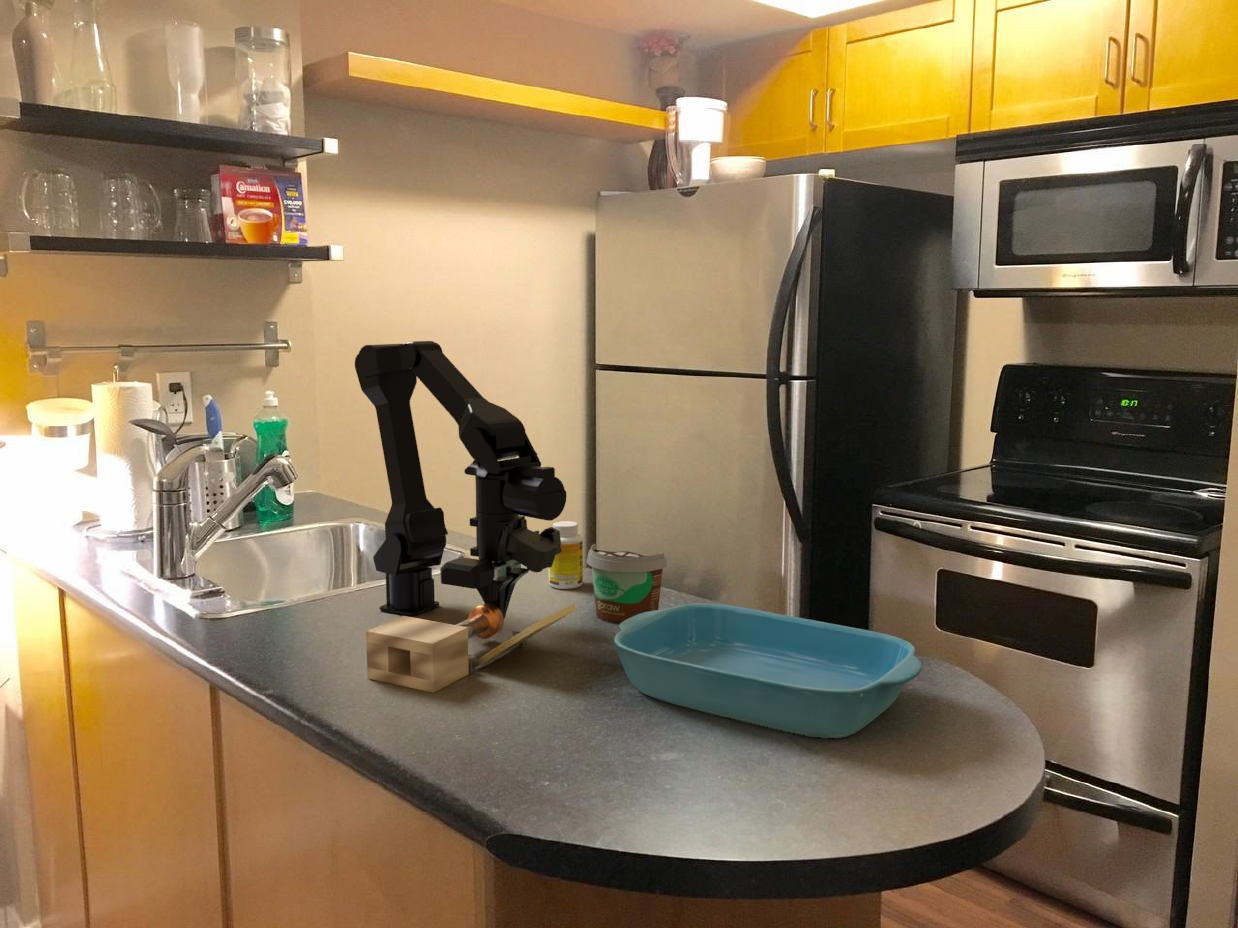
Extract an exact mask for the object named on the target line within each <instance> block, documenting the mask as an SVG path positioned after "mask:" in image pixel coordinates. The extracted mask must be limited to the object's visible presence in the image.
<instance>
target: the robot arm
mask: <svg viewBox="0 0 1238 928" xmlns="http://www.w3.org/2000/svg"><path fill="white" fill-rule="evenodd" d="M354 368H355V372H356V375H357V379H358V382H359V387H360V389H361V392H362V393H363V394H364V395H365V396H366V397H367V399H368V400H369V402H371V404H372V405H373V406H374V408H375V413H376V418H377V424H378V429H379V435H380V442H381V446H382V447H381V448H382V452H383V458H384V464H385V470H386V476H387V481H388V487H389V492H390V493H389V494H390V498H391V506H390V508H389V512H388V514H387V516H386V520H385V522H384V532H385V534H384V535H385V540H384V541H383V543H382V544H381V545H380V547H379V548H378V550H377V551H376V552H375V554H374V555H373V556H372V557H373V558H372V559H373V562H374V567H375V570H376V571H377V572H379V573H383V574H385V597H386V599H385V600H386V603H385V604H383V605H381V606H379V611H383V612H390V613H395V614H401V615H404V616H409V617H413V616H416V615H419V614H421V613H423V612H427V611H429V610H431V609H433V608H434V609H435V608H436V607H438V606H440V601H436V599H435V579H434V578H433V568H432V567H434V566H435V567H436V566H440V565H441V563H442V559H443V555H444V551H445V548H446V547H447V535H449V532H448V529H447V528H446V524H445V523H446V522H445V513H444V511H443V508H442V507H434V506H433V504H432V503H431V502H430V500H428V498H427V494H426V490H425V489H426V488H425V483H424V477H423V472H422V464H421V460H420V455H419V454H420V453H419V448H418V442H417V437H416V436H417V435H416V431H415V425H414V420H413V414H412V409H411V408H412V407H411V398H412V396H413V393H414V391H415V389H416V386H417V382H418V381H417V380H418V379H419V381H420V382H421V383H422V384H423V385H424V386H425V388H426V389H427V390H428V391H429V392H430V393H431V395H432V396H433V397H434V398H435V399H436V400H437V402H439V404H440V405H441V406H442V407H443V408H444V410H446V412H447V413H448V414H449V415H450V416H451V417H452V418H453V420H454V421H455V423H456V424H457V425H458V426H457V427H458V438H459V440H460V441H461V443H462V445H463V446H464V447H465V449H466V451H467V452H468V453H469V455H470V457H471V458H472V459H473V461H472V462H471V463H470V464H469V465H468V466H467V467H466V468H464V474H465V475H468V476H474V477H475V482H474V483H475V516H474V517H470V518H469V526H470V527H476V535H475V536H476V537H475V538H476V546H472V547H470V549H469V551H470V552H469V554H470V555H469V556H470V557H478V558H470V557H463V556H461V557H458V558H455V559H451V560H450V561H447V562H445V563H444V564H443V565H442V566H441V567H440V569H439V570H440V571H439V572H440V584H441V585H448V586H453V587H454V586H455V587H460V588H466V589H473V590H477V592H478V594H479V595H480V597H481V599H482V602H483V604H485V603H491V604H494V605H495V606H497V607H498V608H499V609H500V611H501V612H502V615H503V618H504V620H505V619H506V615H507V612H508V608H509V605H510V602H511V598H512V595H513V592H514V590H515V586H516V584H517V582H518V581H519V580H521V578H523V577H524V575H527V574H528V573H529V571H530V572H532V573H541V572H542V571H543V570H544V569H548V568H550V567H552V564H553V561H554V558H555V555H557V554H559V553H561V552H562V549H561V547H560V546H561V539H560V531H559V530H557V529H555V528H553V526H550V527H548V528H544V529H543V530H542V531H541V532H540V530H535V531H533V530H531V529H529V528H528V522H527V519H526V517H527V518H533V519H536V520H537V519H538V520H543V521H551V522H552V521H554V520H555V519H557V518H558V517H559V516H561V514H562V513H563V511H564V509H565V507H566V503H567V491H566V489H565V486H564V483H563V482H562V481H561V479H560V478H558V477H557V476H556V470H555V467H554V466H553V467H552V466H542V461H540V460H541V459H540V458H539V456H538V453H537V452H536V450H535V448H534V447H533V445H532V442H531V441H530V439H529V437H528V434H527V432H526V428H525V426H524V424H523V422H522V421H521V419H519V418H518V417H517V416H515V414H513V413H511V412H510V411H508V410H507V409H506V408H504V407H502V406H500V405H497V404H496V403H492V402H490V401H489V400H487V399H486V398H485V397H484V396H483V395H482V394H481V393H480V392H479V391H478V390H477V389H476V388H475V387H474V385H472V383H471V382H470V381H469V380H468V379H467V377H465V376H464V374H462V373H461V371H460V370H459V369H458V368H457V367H456V366H455V364H454V363H453V362H452V361H451V360H450V359H449V358H448V357H447V356H446V355H445V354H444V352H443V349H442V346H441V345H440V344H439V343H438V342H435V341H433V340H416V341H415V340H414V341H408V342H407V343H386V344H385V343H383V344H365V345H363V346H362V347H361V349H360V350H359V352H358V354H357V355H356V356H355V359H354ZM522 566H524V567H526V568H524V567H522Z"/></svg>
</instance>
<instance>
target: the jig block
mask: <svg viewBox="0 0 1238 928" xmlns="http://www.w3.org/2000/svg"><path fill="white" fill-rule="evenodd" d="M365 641H366V642H365V643H366V644H365V645H366V666H367V667H366V670H367V672H366V673H367V674H366V675H367V679H369V680H374V681H378V682H384V683H388V684H392V685H396V686H397V685H398V686H401V687H405V688H411V689H415V690H419V691H423V692H429V693H432V694H433V693H436V692H437V691H438V692H439V690H441V689H443V688H445V687H447V686H449V685H451V684H453V683H454V682H456V681H458V680H461V679H462V678H464V677H466V676H468V675H470V674H469V665H468V655H469V639H468V627H463V626H458V625H456V624H450V623H446V622H441V621H440V622H439V621H433V620H429V619H423V618H419V617H418V618H417V617H413V616H408V615H402V616H398V617H397V618H394V619H392V620H389V621H386V622H385V623H382V624H380V625H377V626H375V627H372V628H370V629H368V630H366V631H365Z"/></svg>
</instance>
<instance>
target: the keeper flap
mask: <svg viewBox="0 0 1238 928" xmlns="http://www.w3.org/2000/svg"><path fill="white" fill-rule="evenodd" d="M576 610H577V607H576V605H575V604H574V603H573V604H570V605H568V606H566V607H565V608H562V609H560V610H558V611H557V612H554V613H552V614H551V615H548V616H547V617H545V618H542V619H540V620H539V621H537V622H535V623H533V624H531V625H529V626H528V627H526V628H524V629H522V630H523V631H521V632H520V633H518V634H517V635H515V636H513V635H512V637H510V638H508V639H507V640H506V641H504V642H502V643H501V644H499V645H497V646H496V647H494V648H493V649H491V650H490V651H488V652H486V653H485V654H483V655H482V656H480V657H478V658H476V668H478V667H480V666H482V665H484V664H486V663H488V662H489V661H492V660H493V659H496V658H497V657H499V656H501V655H503V654H505V653H507V652H509V651H510V650H513V649H514V648H516V647H519V646H518V645H520V644H521V643H523V642H525V641H526V640H527V641H528V640H530V639H531V638H533V637H534V636H536V635H538V634H539V633H540V632H543V630H545V629H547V628H549V627H551V626H552V625H554V624H555V623H557V622H559V621H560V620H562V619H563V618H565V617H567V616H568V615H570V614H571V613H573V612H575V611H576Z"/></svg>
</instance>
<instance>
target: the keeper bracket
mask: <svg viewBox="0 0 1238 928" xmlns="http://www.w3.org/2000/svg"><path fill="white" fill-rule="evenodd" d="M523 630H524V629H521V628H515V629H513V630H512V637H513V636H515V635H517V634H518V633H520V632H521V631H523ZM527 645H528V640H526V641H525V642H523V643H521V644H520V645H518V646H517V647H521V648H524V647H525V646H527ZM476 660H477V655H473V654H468V665H469V674H468V675H473V674H475V673H477V667H476Z"/></svg>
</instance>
